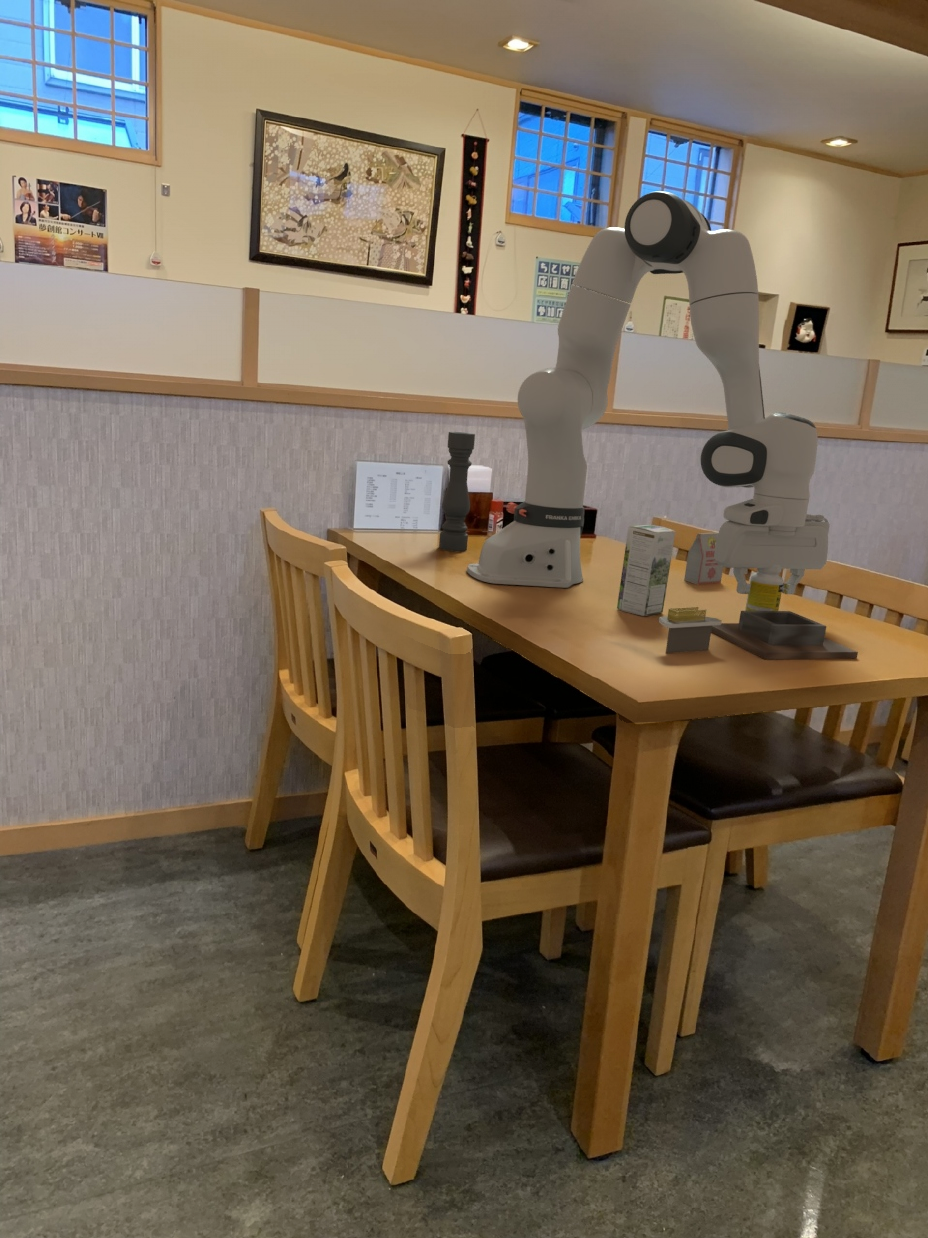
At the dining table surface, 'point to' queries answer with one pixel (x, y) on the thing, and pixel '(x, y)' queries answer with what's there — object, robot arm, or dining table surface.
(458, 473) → the dark gray baluster
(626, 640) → the dining table surface
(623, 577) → the syrup box
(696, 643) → the platform
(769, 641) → the socket holder
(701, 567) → the tea bag
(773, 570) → the supplement bottle
